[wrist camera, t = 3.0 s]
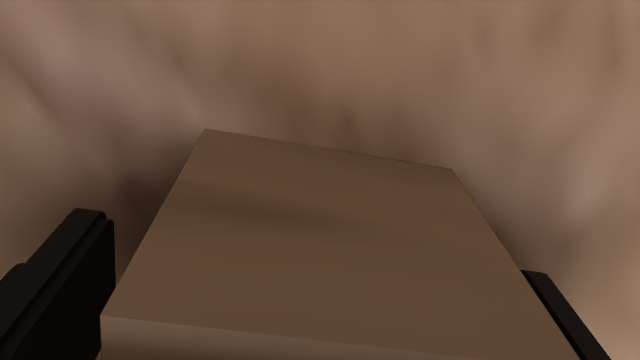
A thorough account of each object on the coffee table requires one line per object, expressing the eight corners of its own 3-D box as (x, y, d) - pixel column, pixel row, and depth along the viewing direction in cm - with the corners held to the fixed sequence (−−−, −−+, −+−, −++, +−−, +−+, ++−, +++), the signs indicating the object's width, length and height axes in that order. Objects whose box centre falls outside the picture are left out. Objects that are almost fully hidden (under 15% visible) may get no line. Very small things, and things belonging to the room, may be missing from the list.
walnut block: (388, 340, 14) (442, 590, 8) (190, 318, 13) (111, 573, 8) (450, 167, 11) (588, 371, 6) (206, 127, 10) (100, 315, 5)
